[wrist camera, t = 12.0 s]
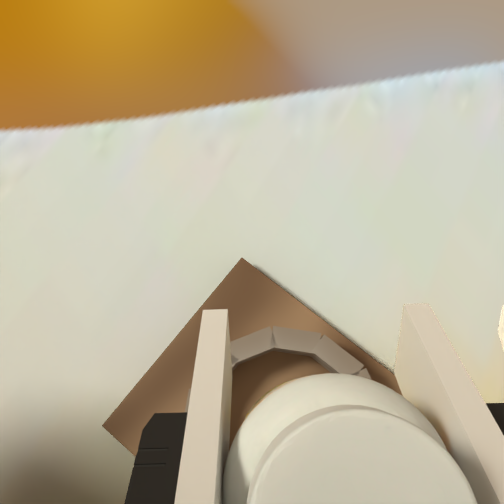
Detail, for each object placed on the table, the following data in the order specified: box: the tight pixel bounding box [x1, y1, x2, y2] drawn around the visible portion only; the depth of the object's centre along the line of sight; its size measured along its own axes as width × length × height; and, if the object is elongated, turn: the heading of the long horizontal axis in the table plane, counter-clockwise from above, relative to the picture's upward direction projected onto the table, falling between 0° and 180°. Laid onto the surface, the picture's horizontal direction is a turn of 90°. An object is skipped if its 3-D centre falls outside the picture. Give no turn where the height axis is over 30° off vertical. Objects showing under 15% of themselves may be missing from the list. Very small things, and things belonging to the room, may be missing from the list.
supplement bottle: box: [222, 373, 478, 504], centre depth 13 cm, size 5×5×10 cm
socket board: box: [102, 258, 403, 456], centre depth 23 cm, size 14×11×3 cm
